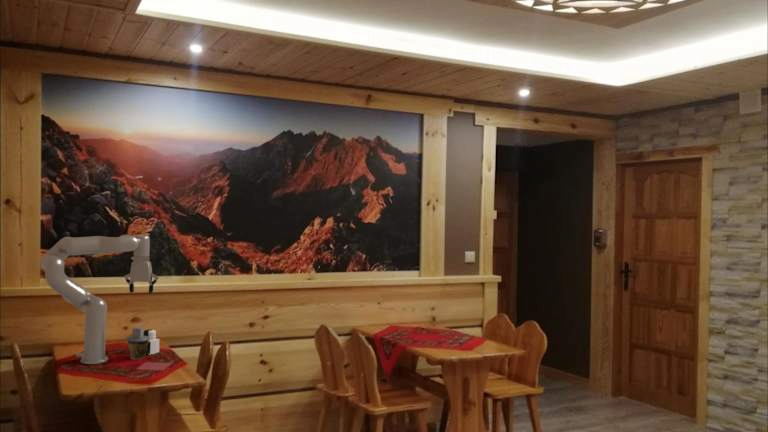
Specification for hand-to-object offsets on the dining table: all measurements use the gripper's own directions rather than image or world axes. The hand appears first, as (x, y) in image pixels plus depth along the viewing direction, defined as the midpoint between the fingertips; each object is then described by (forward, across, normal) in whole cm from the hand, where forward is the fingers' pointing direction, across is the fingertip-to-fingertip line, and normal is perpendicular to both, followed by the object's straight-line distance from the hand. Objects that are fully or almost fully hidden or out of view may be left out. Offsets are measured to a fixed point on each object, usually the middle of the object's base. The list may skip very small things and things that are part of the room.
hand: (141, 292), depth 347 cm
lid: (+22, +2, -9) cm, 24 cm away
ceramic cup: (+32, +2, -9) cm, 34 cm away
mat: (+32, +15, -22) cm, 42 cm away
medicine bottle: (+33, +3, +5) cm, 33 cm away
